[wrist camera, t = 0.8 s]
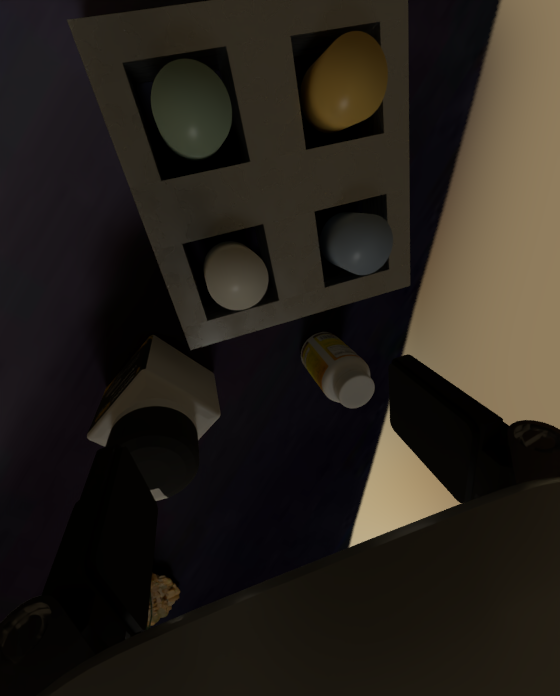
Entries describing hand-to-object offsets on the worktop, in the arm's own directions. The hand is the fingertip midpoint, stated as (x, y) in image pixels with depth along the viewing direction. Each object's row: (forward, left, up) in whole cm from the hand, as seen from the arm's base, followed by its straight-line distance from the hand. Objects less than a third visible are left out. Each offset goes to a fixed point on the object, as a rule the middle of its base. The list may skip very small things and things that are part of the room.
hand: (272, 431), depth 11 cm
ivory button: (-2, +1, -18) cm, 18 cm away
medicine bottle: (+7, -8, -20) cm, 23 cm away
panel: (-7, +6, -20) cm, 22 cm away
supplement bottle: (+9, +8, -20) cm, 24 cm away
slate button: (-2, +11, -18) cm, 21 cm away
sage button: (-12, +1, -18) cm, 21 cm away
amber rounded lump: (-12, +11, -18) cm, 24 cm away
